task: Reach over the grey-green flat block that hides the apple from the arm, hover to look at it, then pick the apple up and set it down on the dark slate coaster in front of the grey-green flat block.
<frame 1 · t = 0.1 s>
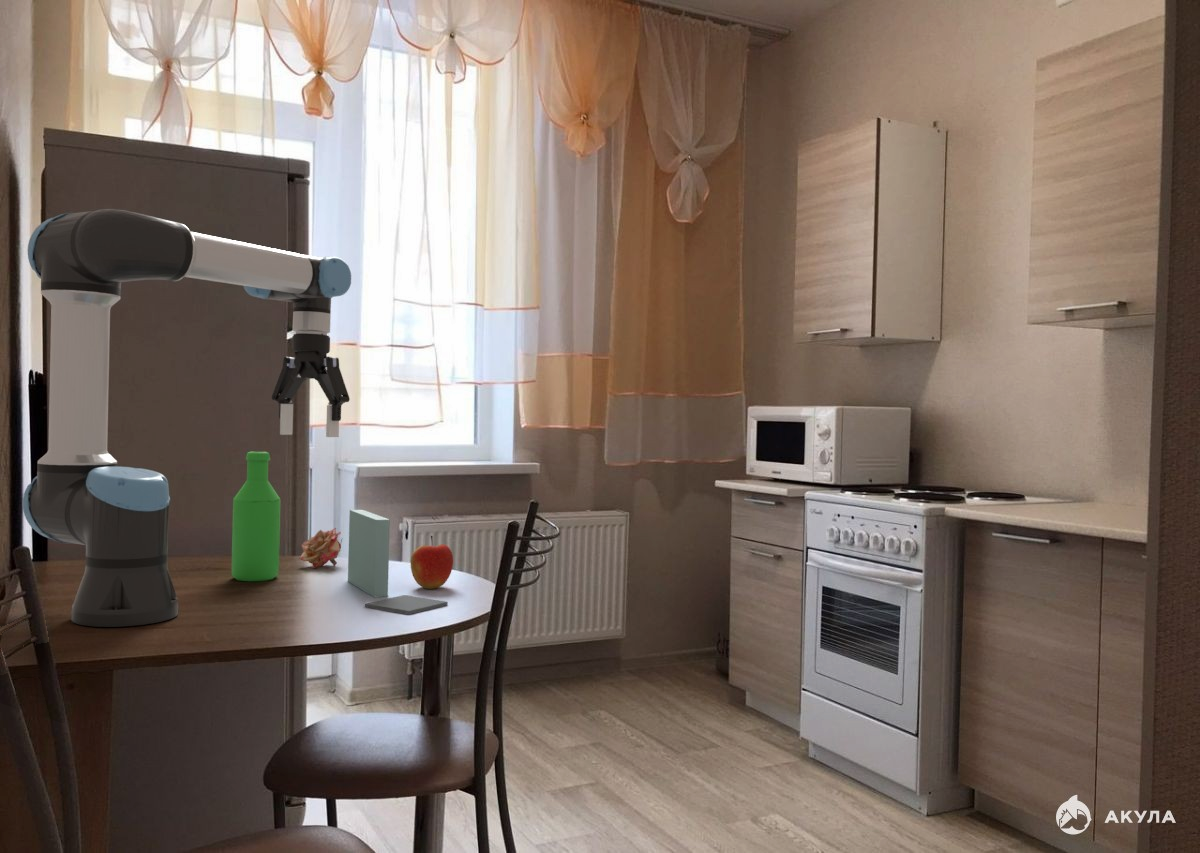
hand: (308, 436, 202), 28 cm above the table, fingers open, 13 cm apart
bottle: (255, 579, 191), on the table
flower: (320, 567, 207), on the table
coaster: (406, 606, 168), on the table
grey-green flat block: (367, 588, 184), on the table
apple: (431, 589, 186), on the table
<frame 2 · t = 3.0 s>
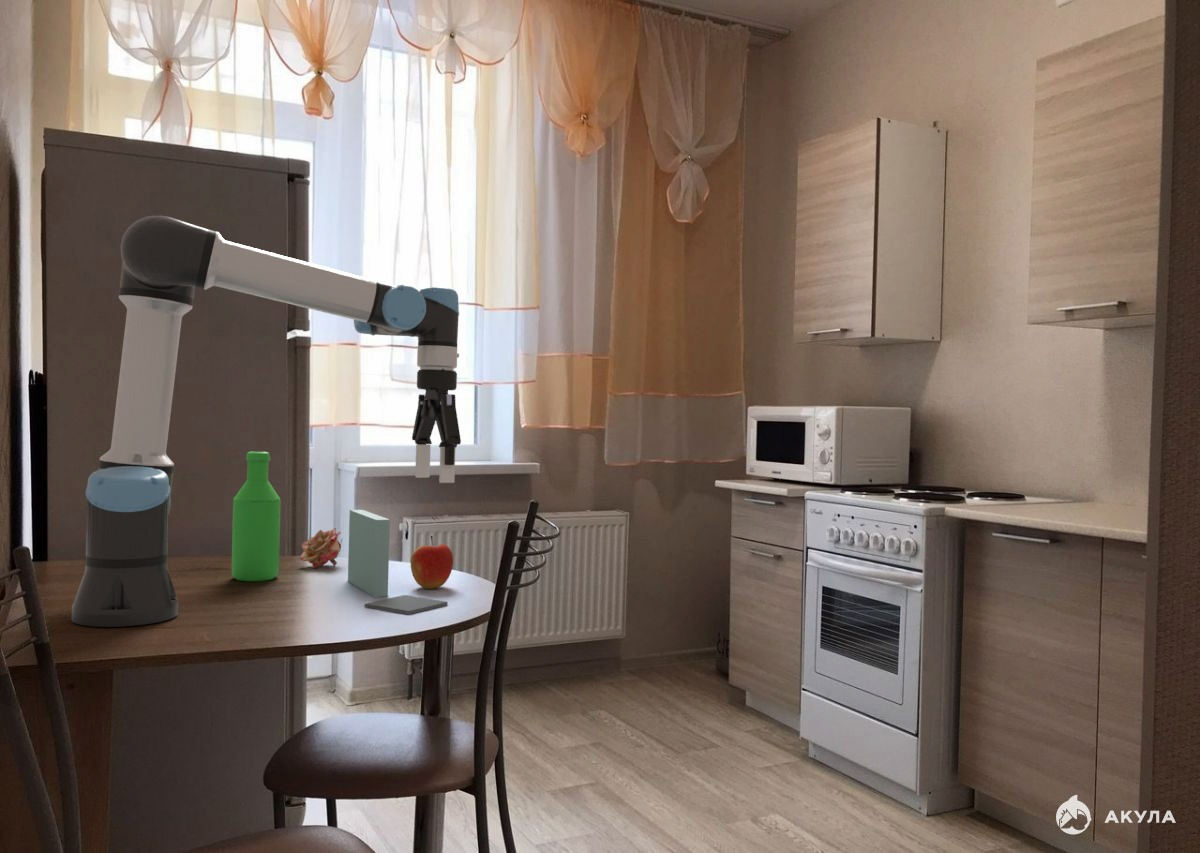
hand: (434, 480, 186), 21 cm above the table, fingers open, 13 cm apart
nothing on the table moved.
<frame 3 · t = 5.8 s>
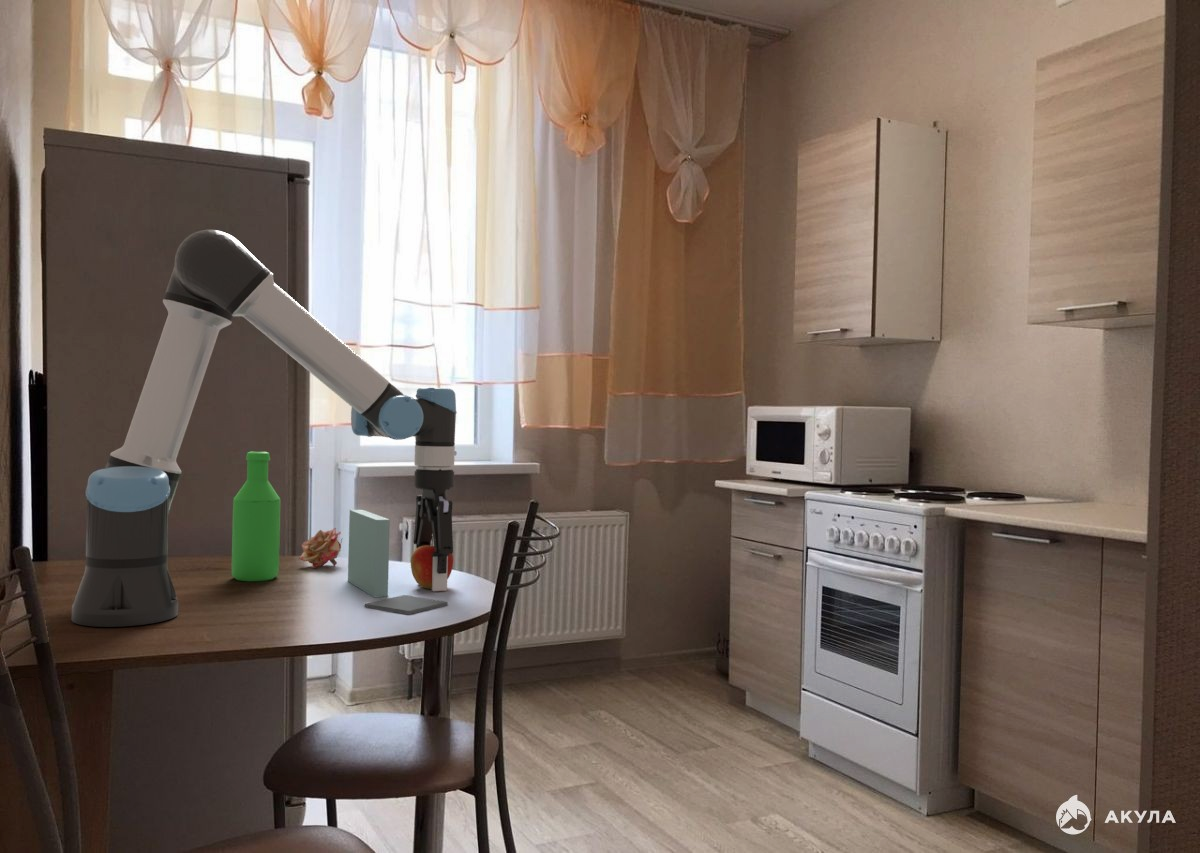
hand: (431, 586, 186), 0 cm above the table, fingers closed on apple, 8 cm apart
apple: (431, 588, 186), on the table, touching gripper
everything else where it was.
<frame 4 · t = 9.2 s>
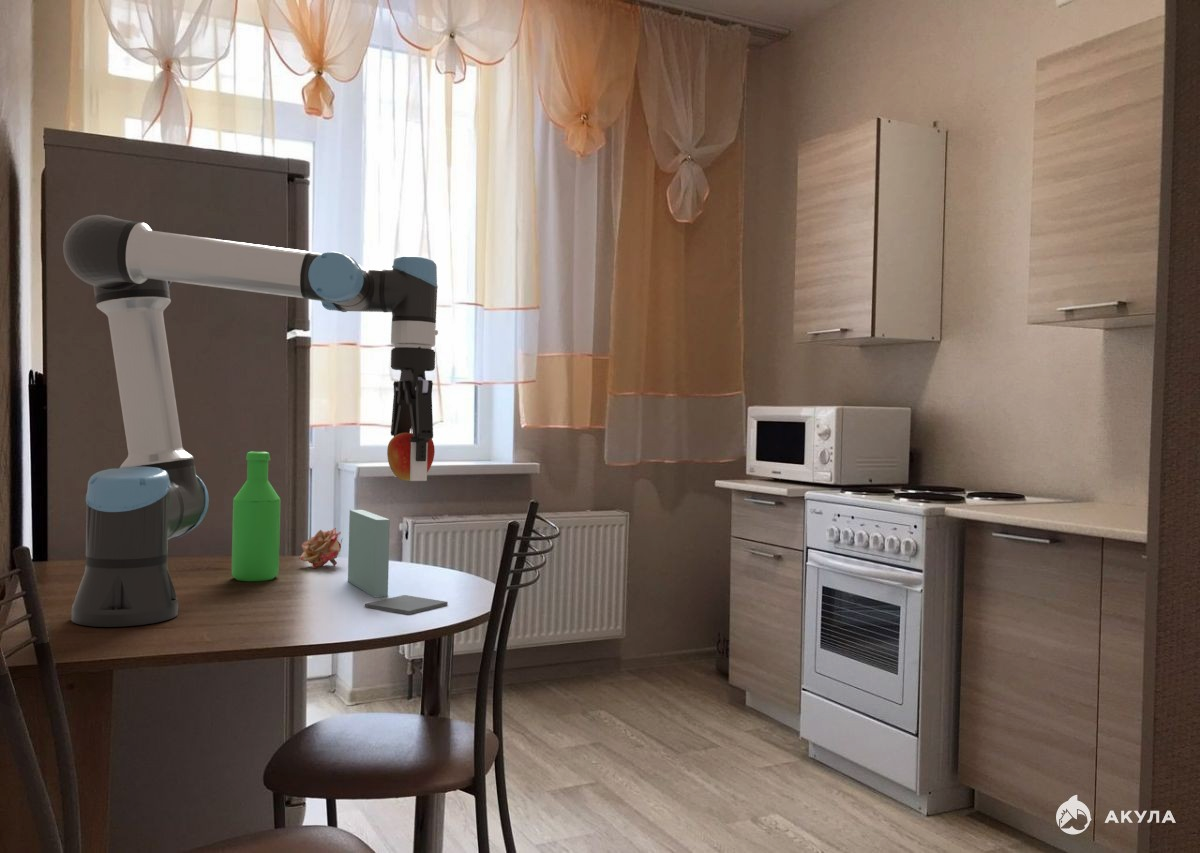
hand: (410, 478, 168), 22 cm above the table, fingers closed on apple, 8 cm apart
apple: (410, 481, 168), point 22 cm above the table, touching gripper
everything else where it was.
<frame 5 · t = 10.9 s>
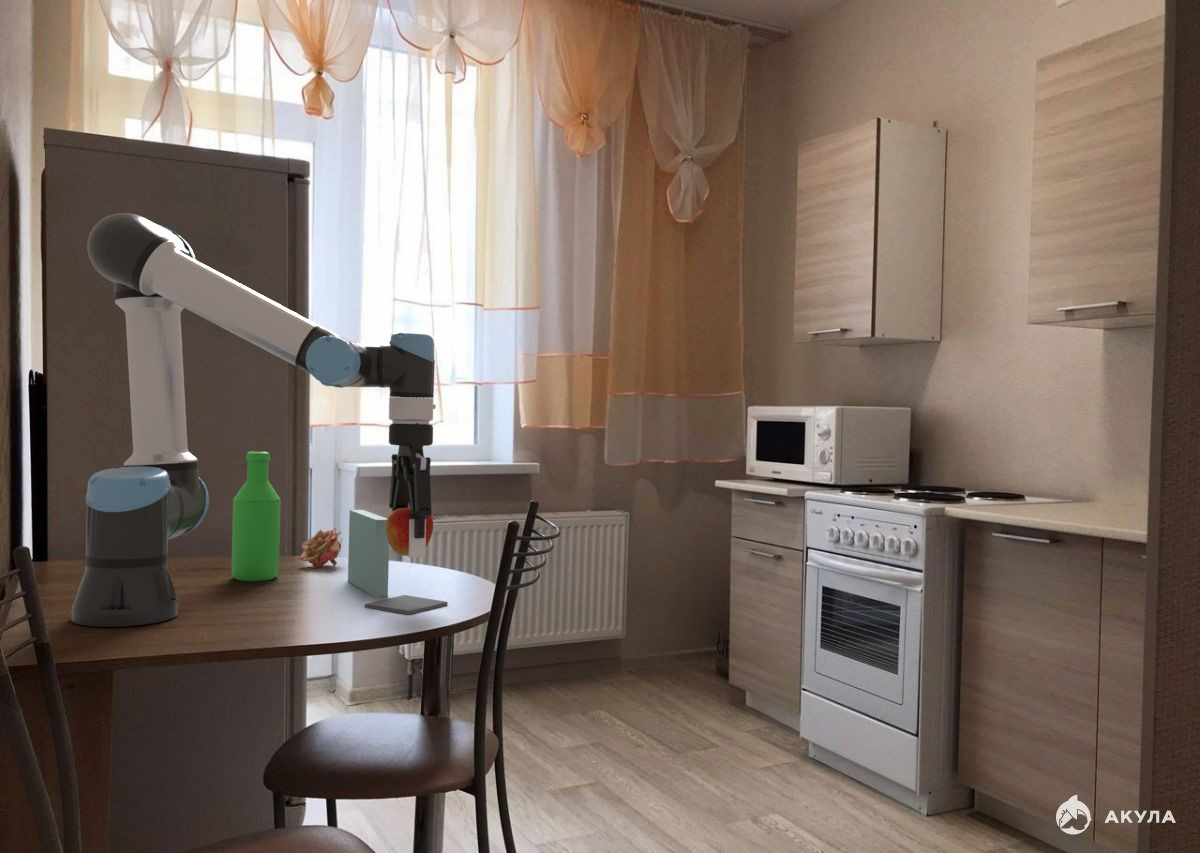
hand: (408, 553, 168), 9 cm above the table, fingers closed on apple, 8 cm apart
apple: (409, 556, 168), point 9 cm above the table, touching gripper
everything else where it was.
when the fingers open (2 cm above the table, at t = 12.5 s): apple drops 1 cm, resting on coaster.
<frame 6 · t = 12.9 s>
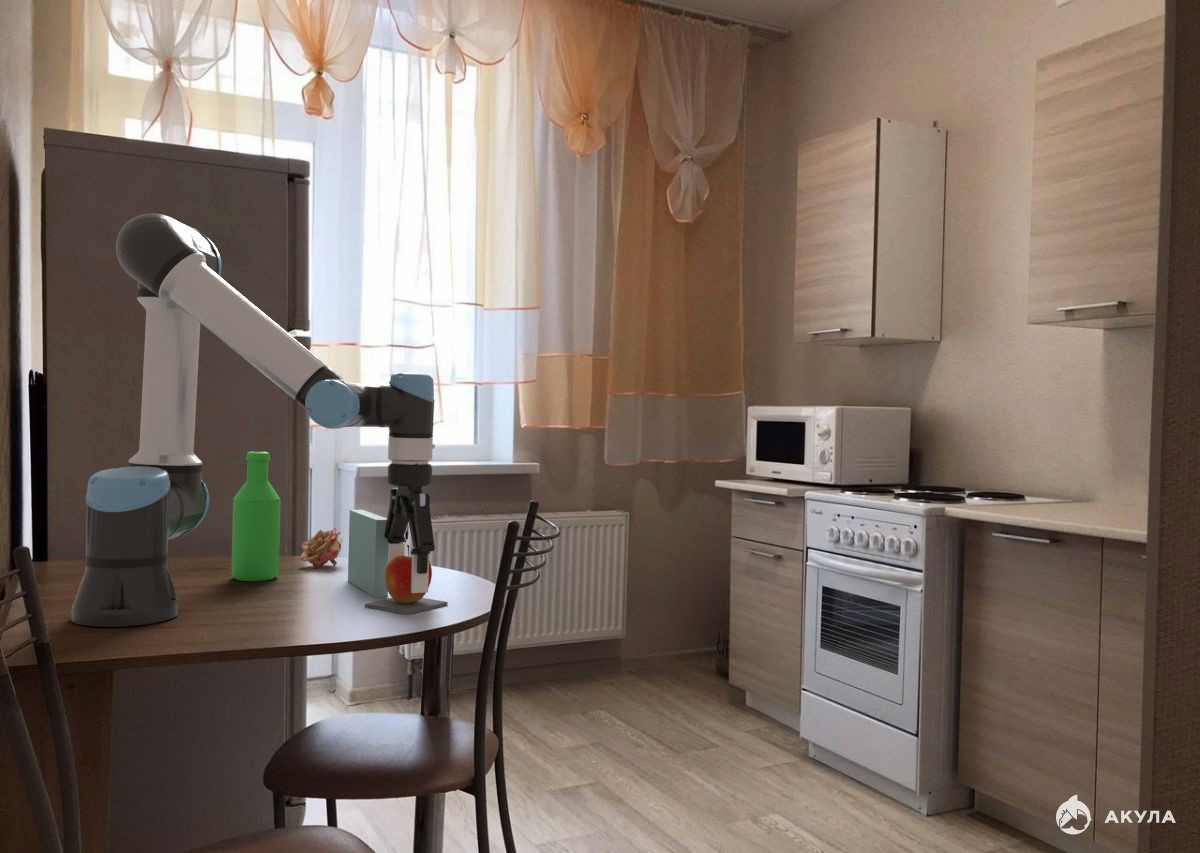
hand: (407, 586, 168), 3 cm above the table, fingers open, 12 cm apart
apple: (407, 604, 168), resting on coaster
everything else where it was.
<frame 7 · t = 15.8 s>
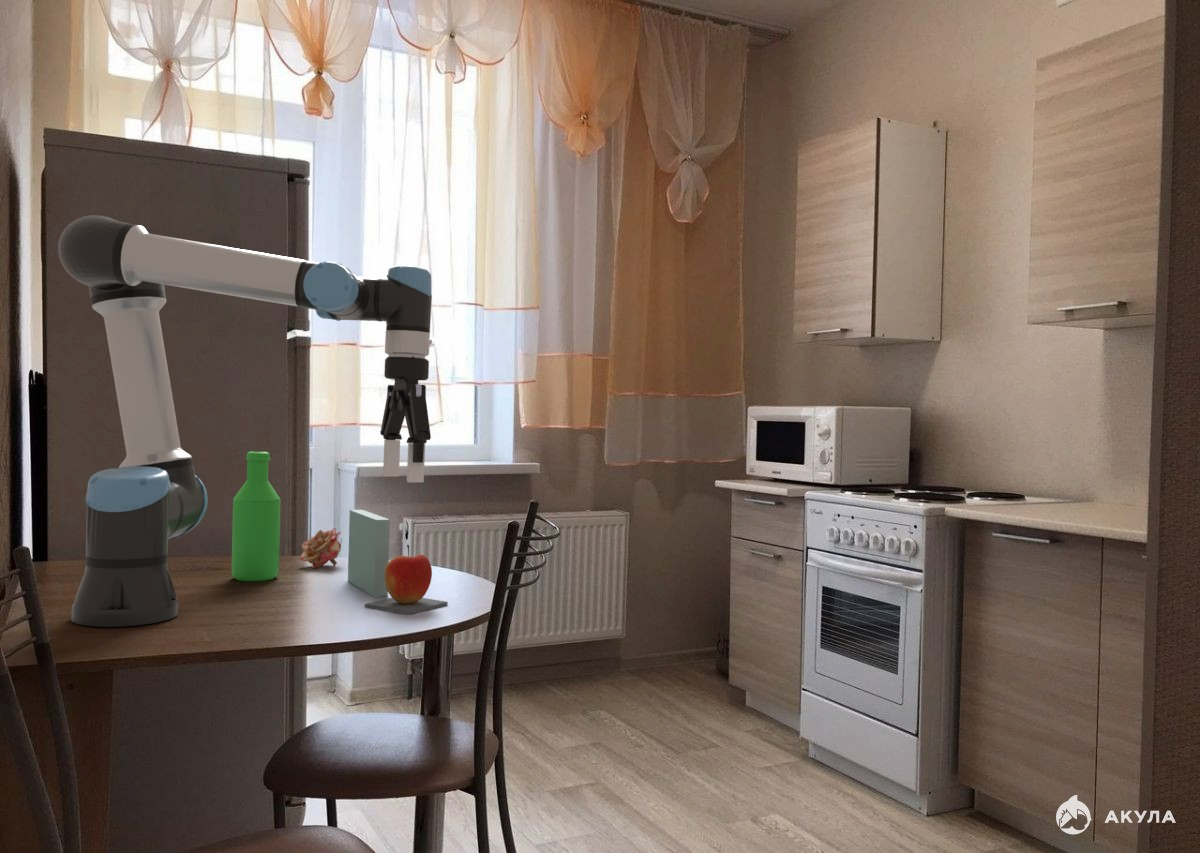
hand: (402, 479, 168), 22 cm above the table, fingers open, 13 cm apart
nothing on the table moved.
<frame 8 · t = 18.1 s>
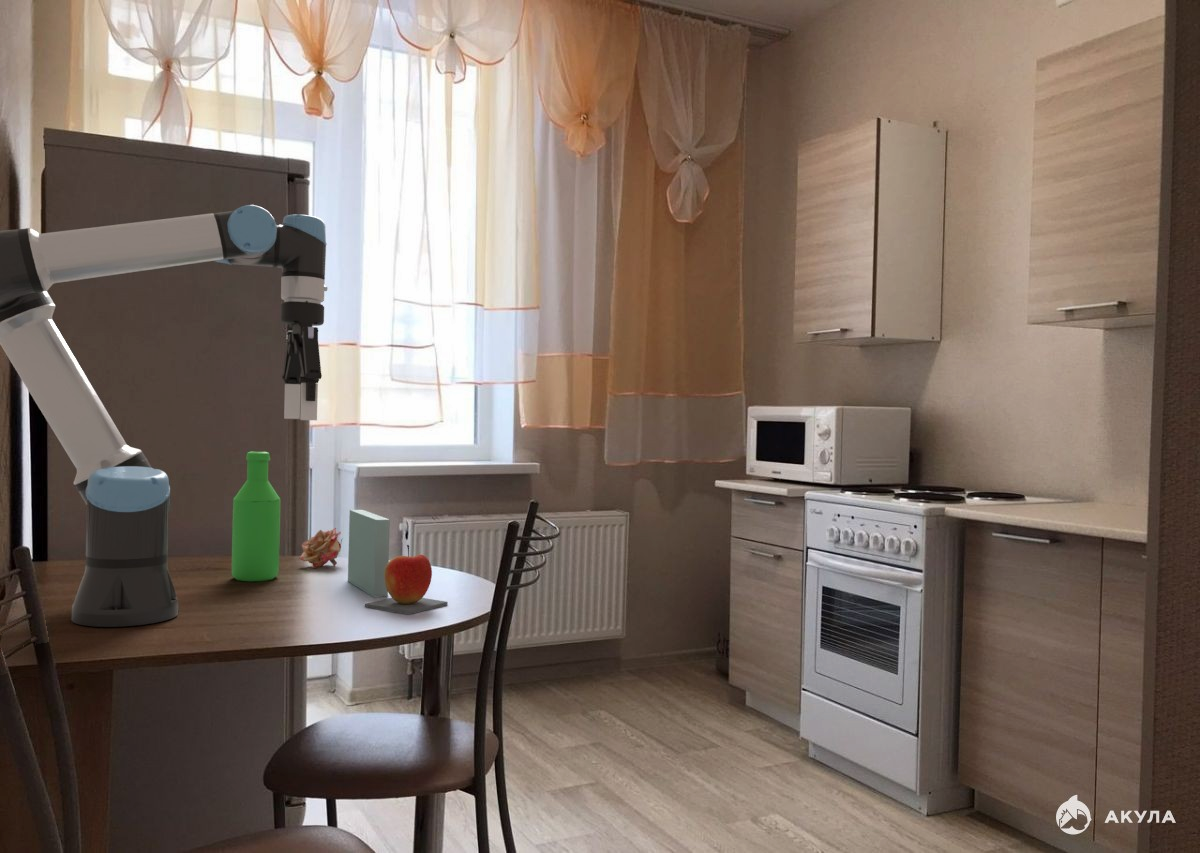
hand: (299, 419, 176), 32 cm above the table, fingers open, 13 cm apart
nothing on the table moved.
at the end: apple inside the target area on the coaster (0.4 cm from its centre), point 0.4 cm above the coaster's base; the gripper is holding nothing; apple touching coaster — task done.
